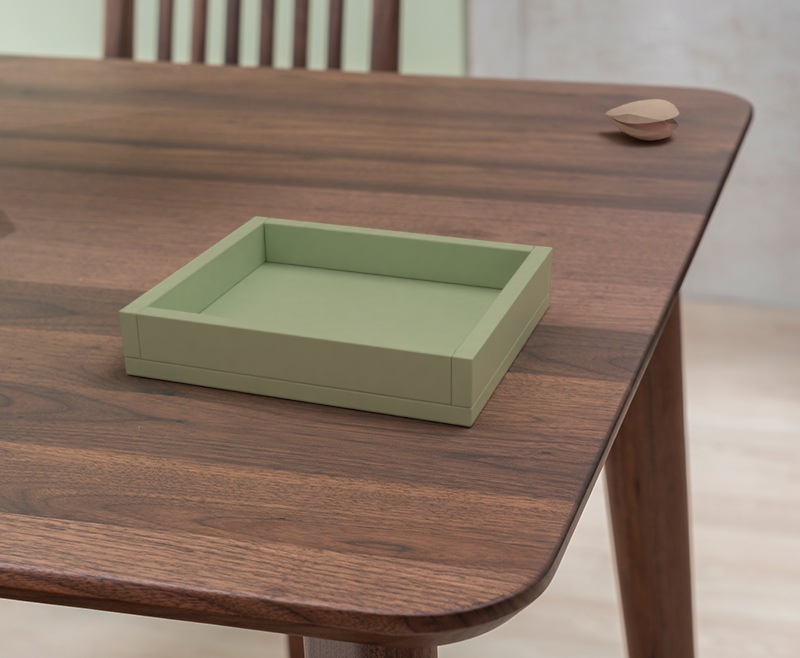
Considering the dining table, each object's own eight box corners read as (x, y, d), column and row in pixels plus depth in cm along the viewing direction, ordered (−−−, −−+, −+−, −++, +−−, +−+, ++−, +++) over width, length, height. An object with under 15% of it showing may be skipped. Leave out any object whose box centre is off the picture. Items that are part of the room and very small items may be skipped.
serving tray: (125, 374, 51) (117, 310, 50) (258, 270, 62) (255, 215, 60) (471, 427, 46) (472, 359, 45) (550, 305, 57) (553, 247, 56)
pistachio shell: (660, 149, 81) (664, 110, 79) (590, 138, 83) (592, 100, 82) (686, 134, 84) (690, 96, 83) (618, 125, 86) (620, 88, 85)
